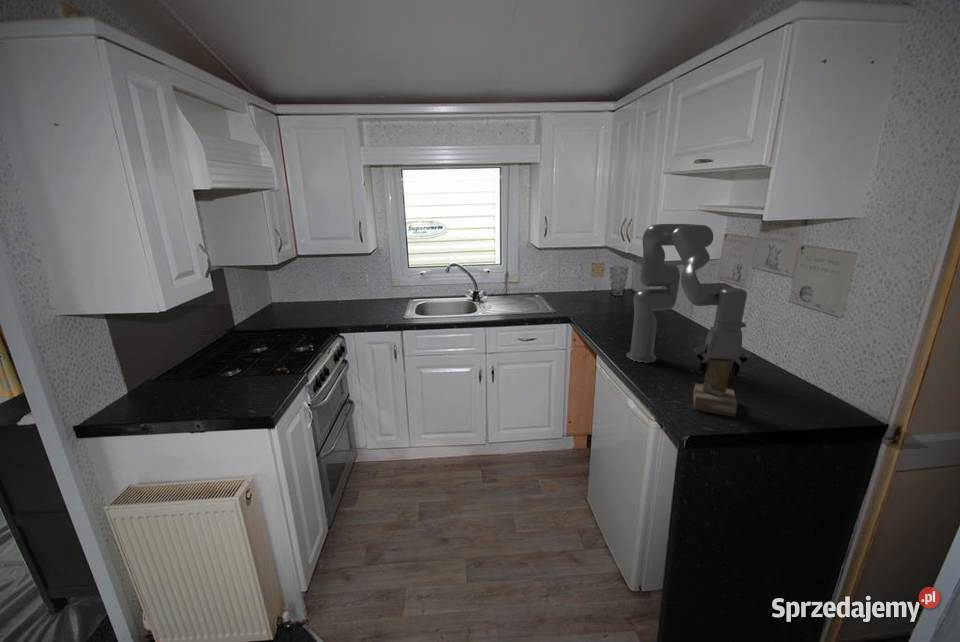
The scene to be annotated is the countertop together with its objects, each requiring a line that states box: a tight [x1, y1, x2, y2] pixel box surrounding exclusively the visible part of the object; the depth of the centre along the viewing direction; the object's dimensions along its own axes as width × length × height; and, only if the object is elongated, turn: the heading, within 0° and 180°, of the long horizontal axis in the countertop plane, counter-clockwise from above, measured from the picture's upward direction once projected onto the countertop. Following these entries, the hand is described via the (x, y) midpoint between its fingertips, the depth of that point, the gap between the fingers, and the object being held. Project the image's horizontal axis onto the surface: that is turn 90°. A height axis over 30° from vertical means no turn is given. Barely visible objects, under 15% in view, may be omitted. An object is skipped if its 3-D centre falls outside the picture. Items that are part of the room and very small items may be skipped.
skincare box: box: [703, 358, 732, 396], centre depth 137 cm, size 6×4×12 cm
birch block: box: [692, 382, 738, 418], centre depth 139 cm, size 12×12×5 cm
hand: (718, 373), depth 137 cm, fingers open, 9 cm apart
